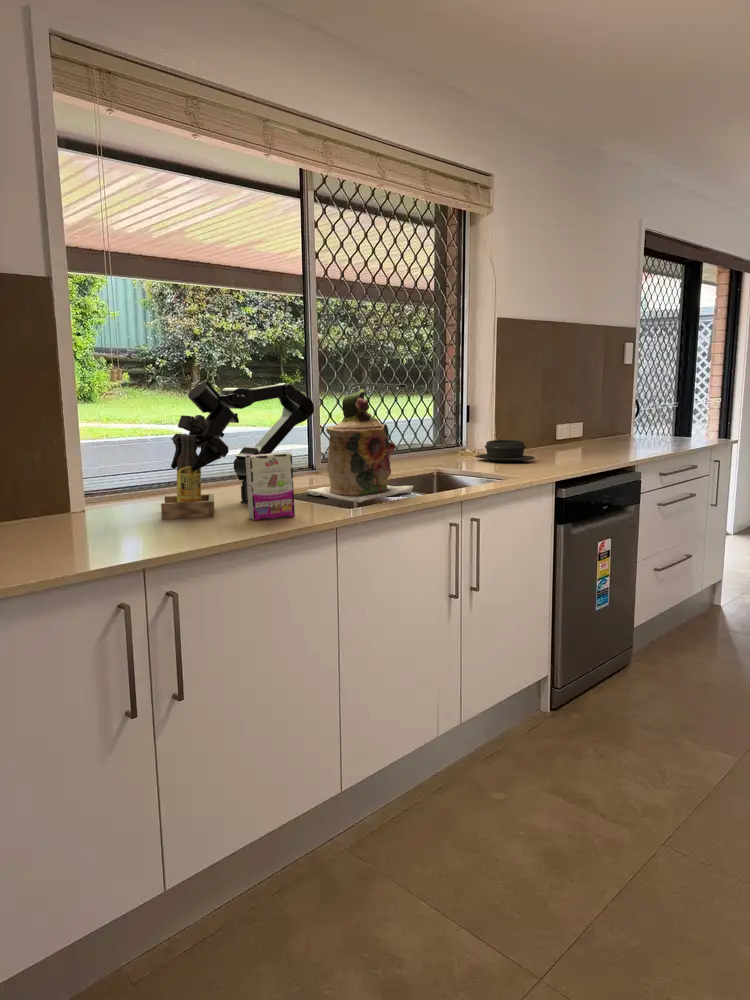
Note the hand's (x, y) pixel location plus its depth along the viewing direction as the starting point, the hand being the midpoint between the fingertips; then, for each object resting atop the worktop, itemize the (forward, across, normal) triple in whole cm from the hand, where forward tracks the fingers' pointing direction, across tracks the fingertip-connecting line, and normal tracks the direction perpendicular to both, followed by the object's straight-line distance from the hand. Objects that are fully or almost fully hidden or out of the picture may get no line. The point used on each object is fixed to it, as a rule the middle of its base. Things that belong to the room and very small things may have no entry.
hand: (182, 469), depth 185 cm
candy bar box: (+1, +22, +17) cm, 27 cm away
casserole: (-98, +6, +116) cm, 152 cm away
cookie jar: (-29, +14, +46) cm, 56 cm away
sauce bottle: (+7, 0, +9) cm, 11 cm away
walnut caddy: (+8, 0, +10) cm, 12 cm away
